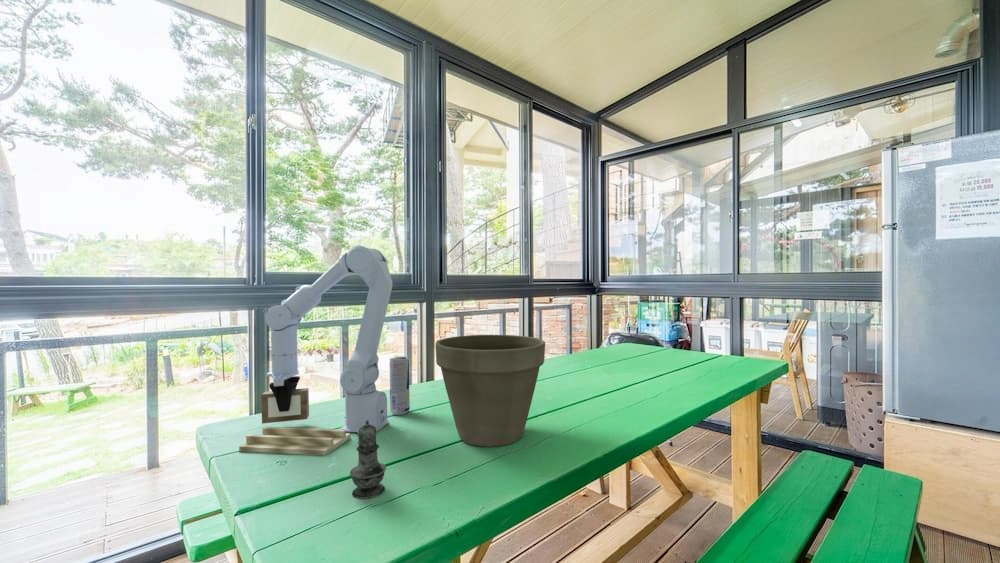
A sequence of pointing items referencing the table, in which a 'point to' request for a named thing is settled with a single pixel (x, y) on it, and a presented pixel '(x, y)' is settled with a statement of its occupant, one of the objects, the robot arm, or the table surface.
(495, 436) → the plant pot
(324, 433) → the ledge
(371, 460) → the salt shaker
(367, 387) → the robot arm
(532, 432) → the table surface
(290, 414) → the frame
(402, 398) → the beverage can
